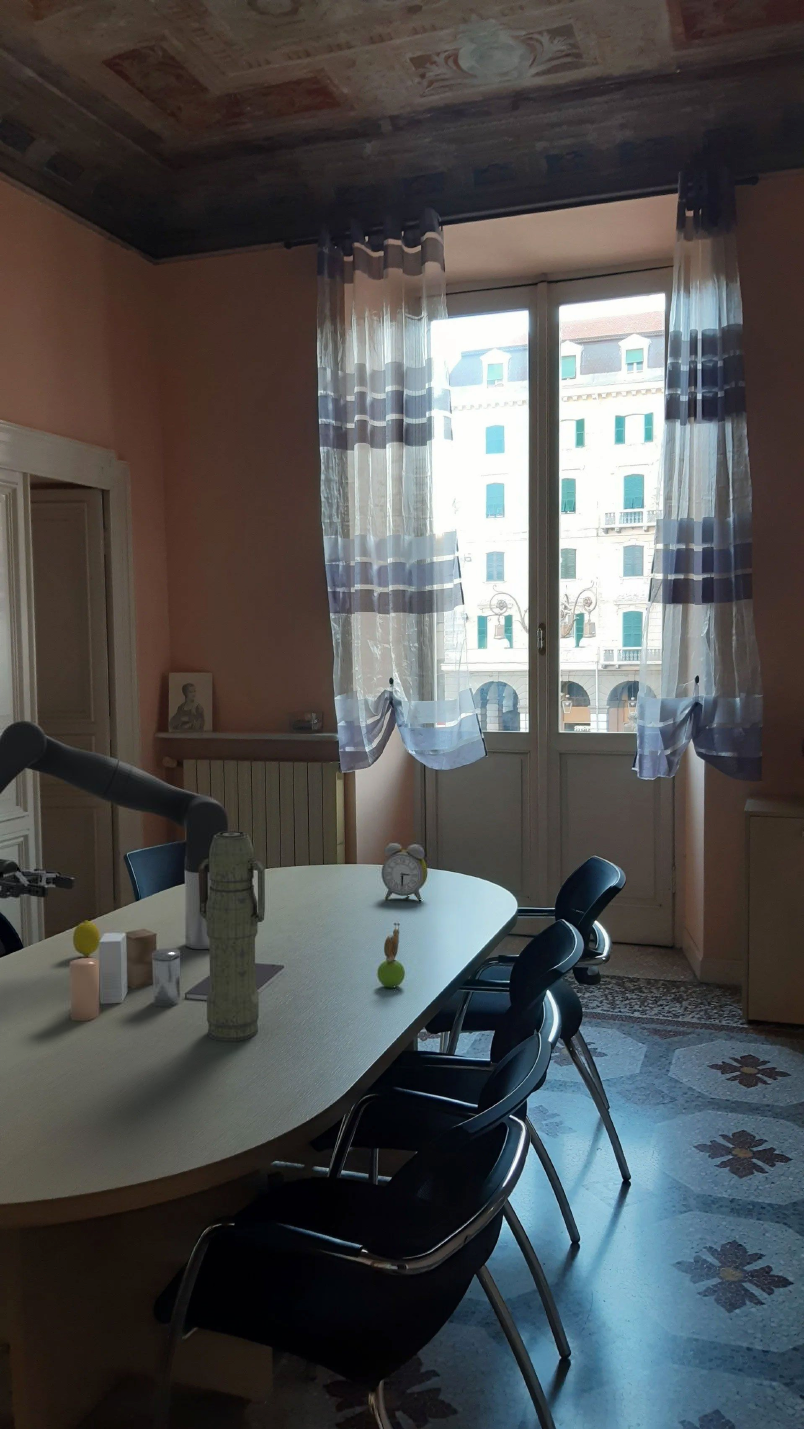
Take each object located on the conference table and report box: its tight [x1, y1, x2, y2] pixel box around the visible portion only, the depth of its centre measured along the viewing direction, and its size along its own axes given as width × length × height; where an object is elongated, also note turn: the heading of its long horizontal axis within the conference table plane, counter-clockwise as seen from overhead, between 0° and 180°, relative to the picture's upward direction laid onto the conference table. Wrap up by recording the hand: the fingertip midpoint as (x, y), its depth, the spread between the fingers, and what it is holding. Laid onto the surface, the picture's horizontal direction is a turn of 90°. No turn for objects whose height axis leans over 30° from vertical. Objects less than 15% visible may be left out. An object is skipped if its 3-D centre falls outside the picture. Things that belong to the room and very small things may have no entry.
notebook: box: [184, 962, 285, 1001], centre depth 211 cm, size 13×2×21 cm
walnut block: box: [123, 928, 158, 989], centre depth 211 cm, size 5×5×10 cm
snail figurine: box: [376, 922, 406, 988], centre depth 209 cm, size 5×6×12 cm
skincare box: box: [98, 932, 128, 1005], centre depth 201 cm, size 6×4×12 cm
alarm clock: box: [381, 842, 428, 901], centre depth 281 cm, size 12×7×15 cm, turn 73°
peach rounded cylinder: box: [69, 957, 100, 1022], centre depth 192 cm, size 5×5×10 cm
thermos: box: [198, 830, 266, 1043], centre depth 183 cm, size 9×12×35 cm
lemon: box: [72, 920, 101, 958], centre depth 229 cm, size 6×6×8 cm
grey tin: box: [152, 948, 181, 1008], centre depth 199 cm, size 5×5×10 cm
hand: (60, 887), depth 204 cm, fingers open, 8 cm apart
